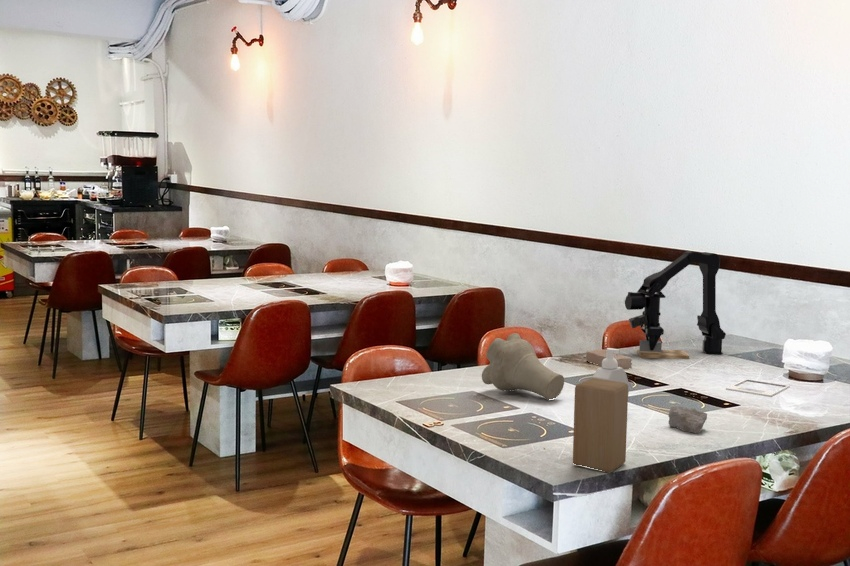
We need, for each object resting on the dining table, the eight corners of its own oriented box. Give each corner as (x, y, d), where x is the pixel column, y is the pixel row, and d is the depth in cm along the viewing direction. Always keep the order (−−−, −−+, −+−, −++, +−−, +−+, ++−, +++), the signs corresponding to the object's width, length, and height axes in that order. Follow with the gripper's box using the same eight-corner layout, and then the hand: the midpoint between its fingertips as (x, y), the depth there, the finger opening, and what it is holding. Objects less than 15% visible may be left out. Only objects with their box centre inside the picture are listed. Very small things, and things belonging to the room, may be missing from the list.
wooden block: (588, 455, 220) (591, 376, 217) (626, 463, 214) (630, 382, 212) (570, 466, 211) (573, 384, 209) (610, 474, 206) (613, 390, 203)
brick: (633, 368, 322) (633, 356, 322) (615, 371, 318) (616, 358, 317) (601, 360, 336) (602, 348, 336) (584, 363, 332) (585, 350, 331)
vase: (595, 358, 274) (526, 325, 293) (555, 357, 258) (486, 322, 277) (572, 422, 278) (506, 386, 296) (532, 425, 262) (464, 386, 280)
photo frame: (725, 387, 290) (746, 378, 304) (725, 390, 290) (745, 381, 304) (771, 394, 281) (789, 385, 295) (770, 398, 281) (789, 388, 295)
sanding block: (660, 351, 347) (660, 341, 347) (661, 353, 342) (661, 343, 342) (639, 350, 349) (639, 340, 348) (639, 352, 344) (640, 342, 344)
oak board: (683, 353, 350) (683, 350, 350) (689, 358, 339) (689, 355, 339) (636, 352, 352) (636, 349, 351) (641, 357, 341) (641, 354, 341)
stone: (664, 430, 243) (664, 409, 242) (672, 423, 250) (673, 403, 249) (700, 436, 238) (701, 414, 237) (707, 428, 245) (709, 408, 244)
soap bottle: (603, 424, 248) (606, 354, 245) (586, 421, 251) (589, 351, 249) (629, 412, 260) (631, 346, 258) (612, 409, 264) (615, 343, 261)
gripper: (627, 305, 353) (625, 344, 355) (634, 312, 335) (633, 353, 337) (655, 306, 353) (653, 344, 355) (664, 313, 334) (663, 353, 336)
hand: (650, 348), depth 345 cm, fingers closed on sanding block, 5 cm apart
